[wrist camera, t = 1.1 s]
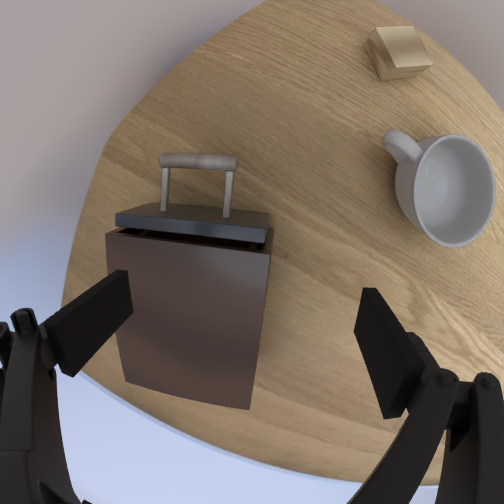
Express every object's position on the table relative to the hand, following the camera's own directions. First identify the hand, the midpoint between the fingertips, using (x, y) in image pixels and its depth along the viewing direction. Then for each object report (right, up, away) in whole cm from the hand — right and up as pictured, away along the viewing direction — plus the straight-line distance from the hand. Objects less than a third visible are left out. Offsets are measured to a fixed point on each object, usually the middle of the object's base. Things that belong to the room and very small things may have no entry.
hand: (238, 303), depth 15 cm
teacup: (+19, +11, +12) cm, 26 cm away
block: (+17, +25, +8) cm, 31 cm away
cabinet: (-5, -2, +19) cm, 20 cm away
